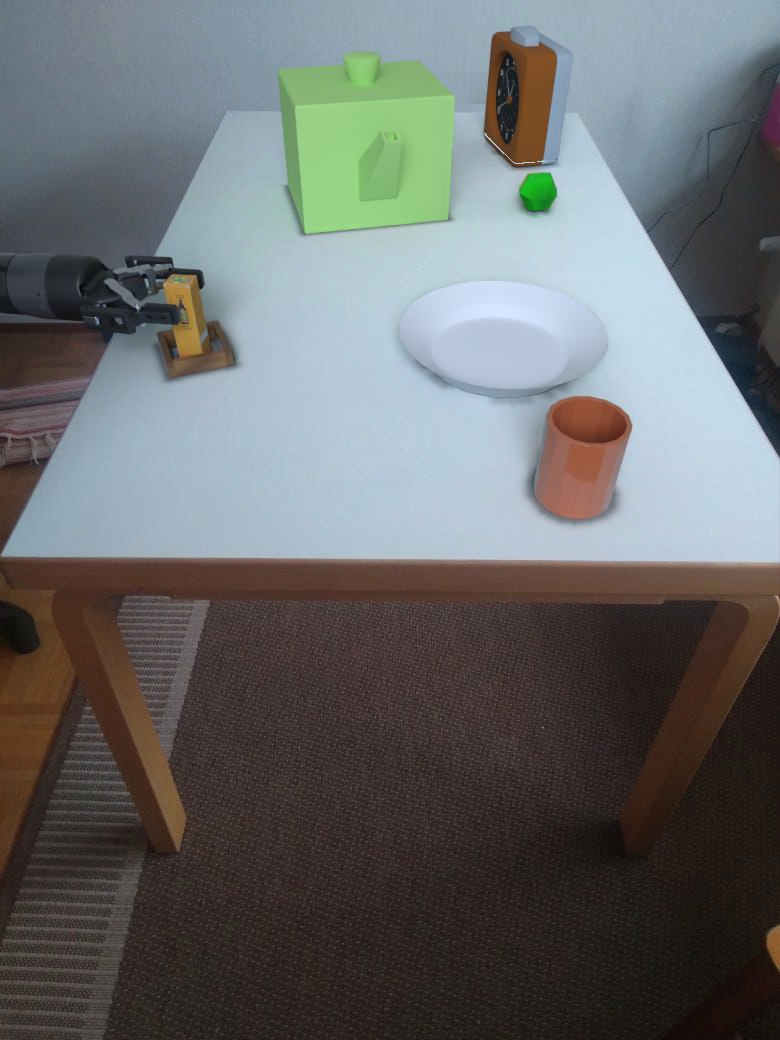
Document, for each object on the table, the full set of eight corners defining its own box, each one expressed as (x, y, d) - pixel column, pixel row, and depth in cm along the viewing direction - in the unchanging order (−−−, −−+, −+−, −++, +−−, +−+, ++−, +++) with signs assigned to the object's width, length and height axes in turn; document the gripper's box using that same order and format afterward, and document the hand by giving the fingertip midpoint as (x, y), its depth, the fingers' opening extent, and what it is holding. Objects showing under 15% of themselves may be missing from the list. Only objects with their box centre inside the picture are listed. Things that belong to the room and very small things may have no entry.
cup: (558, 527, 70) (575, 454, 63) (519, 478, 75) (532, 406, 68) (626, 507, 72) (649, 434, 65) (583, 460, 77) (601, 388, 70)
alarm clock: (481, 137, 148) (491, 16, 134) (522, 134, 150) (536, 14, 135) (514, 170, 135) (529, 40, 121) (558, 166, 137) (578, 37, 122)
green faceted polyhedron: (552, 169, 115) (529, 150, 121) (520, 199, 117) (500, 178, 123) (573, 201, 120) (550, 180, 126) (542, 229, 122) (521, 207, 128)
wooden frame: (170, 378, 87) (166, 364, 86) (159, 345, 92) (155, 331, 91) (234, 365, 89) (231, 350, 88) (220, 333, 94) (217, 320, 93)
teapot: (313, 257, 110) (301, 95, 95) (283, 173, 134) (270, 33, 119) (463, 241, 114) (475, 83, 98) (408, 162, 138) (410, 25, 123)
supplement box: (213, 349, 92) (199, 273, 85) (204, 363, 89) (188, 287, 82) (188, 346, 92) (171, 271, 85) (178, 361, 90) (160, 285, 83)
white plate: (593, 432, 80) (599, 405, 77) (374, 396, 85) (373, 369, 82) (608, 319, 97) (614, 294, 94) (425, 295, 102) (426, 270, 99)
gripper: (19, 286, 79) (162, 296, 78) (76, 230, 89) (205, 239, 88) (42, 346, 84) (177, 357, 83) (94, 288, 94) (215, 296, 93)
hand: (191, 296), depth 85 cm, fingers open, 8 cm apart
